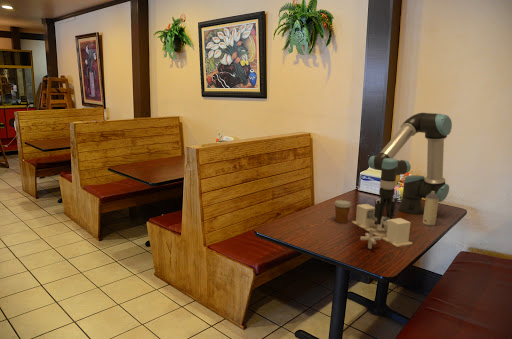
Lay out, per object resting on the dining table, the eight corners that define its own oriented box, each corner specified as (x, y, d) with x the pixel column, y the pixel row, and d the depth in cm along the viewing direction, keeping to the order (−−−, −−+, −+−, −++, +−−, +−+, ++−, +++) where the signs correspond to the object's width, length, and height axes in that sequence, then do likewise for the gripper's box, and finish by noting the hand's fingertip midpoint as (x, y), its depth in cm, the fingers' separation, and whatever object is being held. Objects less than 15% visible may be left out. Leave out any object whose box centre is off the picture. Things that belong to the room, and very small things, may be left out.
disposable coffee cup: (350, 220, 223) (352, 201, 220) (347, 225, 214) (349, 205, 212) (335, 217, 227) (336, 198, 224) (331, 222, 218) (332, 202, 216)
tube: (366, 217, 212) (366, 210, 211) (372, 217, 213) (372, 210, 212) (397, 233, 190) (398, 225, 189) (403, 232, 192) (404, 224, 191)
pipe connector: (356, 243, 189) (358, 225, 187) (375, 243, 190) (377, 225, 188) (363, 252, 180) (365, 232, 177) (383, 252, 180) (385, 232, 178)
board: (351, 222, 220) (351, 221, 220) (365, 220, 224) (365, 219, 224) (397, 247, 187) (397, 245, 187) (412, 244, 191) (412, 243, 190)
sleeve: (355, 222, 219) (357, 205, 216) (365, 221, 221) (366, 203, 219) (364, 227, 211) (366, 209, 209) (374, 226, 214) (376, 207, 212)
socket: (386, 239, 195) (388, 219, 193) (398, 237, 198) (400, 217, 196) (396, 245, 189) (398, 224, 186) (408, 243, 192) (410, 222, 190)
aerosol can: (428, 221, 225) (432, 189, 220) (437, 225, 219) (442, 192, 214) (419, 222, 222) (424, 190, 217) (429, 226, 216) (434, 193, 211)
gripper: (394, 184, 204) (390, 224, 210) (369, 187, 198) (365, 228, 203) (404, 188, 198) (399, 229, 203) (379, 190, 191) (374, 233, 196)
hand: (382, 229), depth 203 cm, fingers closed on tube, 4 cm apart
